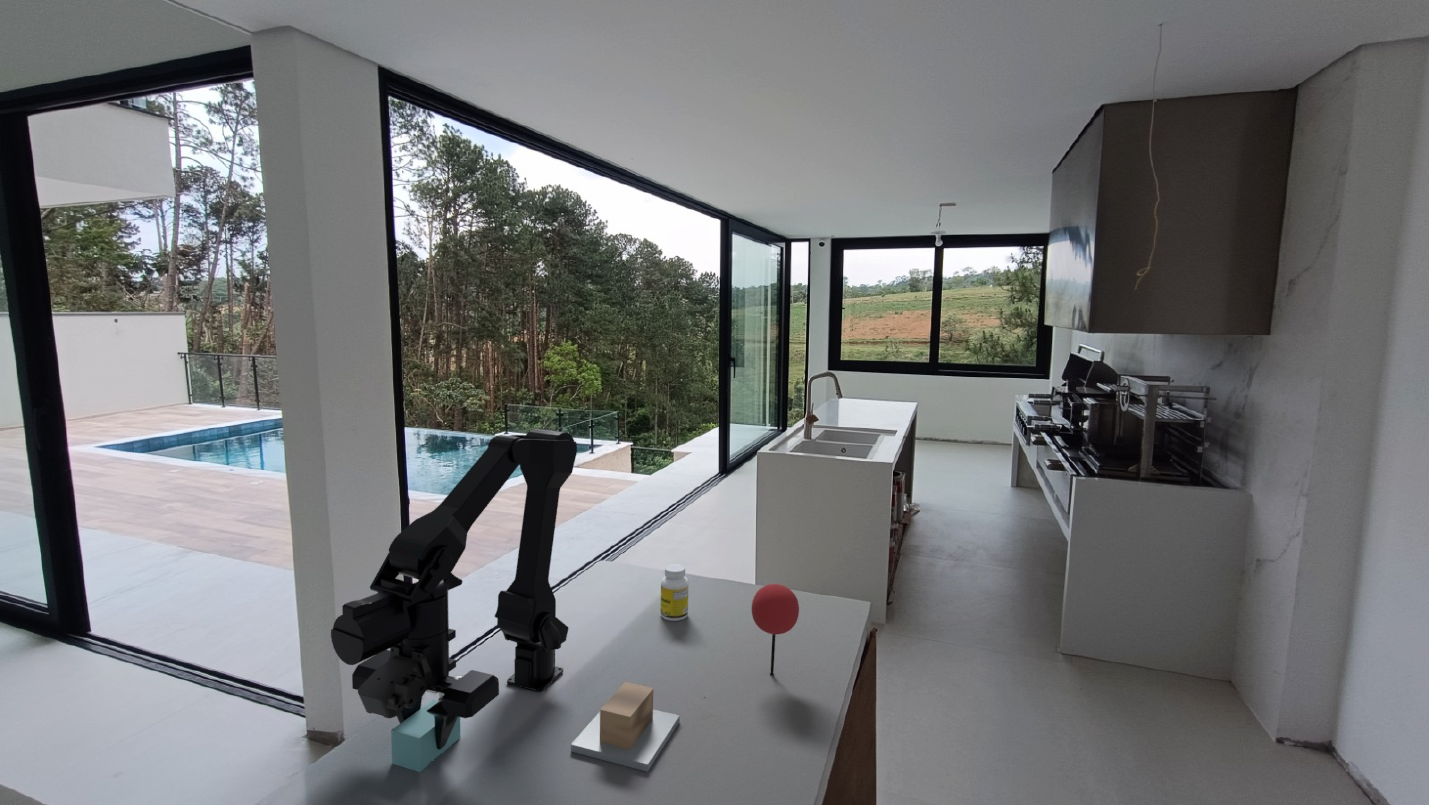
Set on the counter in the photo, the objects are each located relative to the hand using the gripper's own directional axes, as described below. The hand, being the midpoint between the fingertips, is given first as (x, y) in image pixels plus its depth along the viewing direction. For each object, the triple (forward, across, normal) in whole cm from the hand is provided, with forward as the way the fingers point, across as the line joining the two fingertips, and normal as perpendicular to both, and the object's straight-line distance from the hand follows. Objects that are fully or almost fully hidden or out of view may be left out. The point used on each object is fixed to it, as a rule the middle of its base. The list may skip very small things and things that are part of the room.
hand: (426, 743), depth 82 cm
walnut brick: (0, +23, +12) cm, 26 cm away
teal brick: (+1, 0, 0) cm, 1 cm away
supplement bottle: (+1, +15, +49) cm, 51 cm away
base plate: (+1, +23, +12) cm, 26 cm away
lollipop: (+1, +38, +35) cm, 52 cm away
